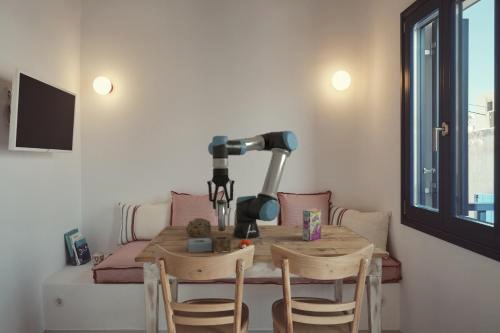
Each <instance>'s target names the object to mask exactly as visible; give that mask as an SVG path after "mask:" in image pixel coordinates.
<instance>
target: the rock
mask: <svg viewBox="0 0 500 333" xmlns="http://www.w3.org/2000/svg"><path fill="white" fill-rule="evenodd" d="M185 229H186V232H187V236H188V237H191V236H193V237H199V238H210V236H211V233H212V224H211V222H210V220H207V219H205V218H201V217H200V218H197V217H196V218H194V219H193V220H189V222H188V224H187V226H186V227H185Z"/></svg>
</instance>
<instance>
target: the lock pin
mask: <svg viewBox="0 0 500 333" xmlns="http://www.w3.org/2000/svg"><path fill="white" fill-rule="evenodd" d="M216 202H217V207H218V216H217V223H218V224H217V231H218V232H226V215H225V202H226V199H216Z"/></svg>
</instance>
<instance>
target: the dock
mask: <svg viewBox="0 0 500 333" xmlns="http://www.w3.org/2000/svg"><path fill="white" fill-rule="evenodd" d="M186 241H187V243H186V244H187V246H186V247H187V251H188V253H189V254H191V253H190V252H196V253H204V252H203V251H210V252H213V250H212V239H210V237H200V238H189V239H187V240H186Z"/></svg>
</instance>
